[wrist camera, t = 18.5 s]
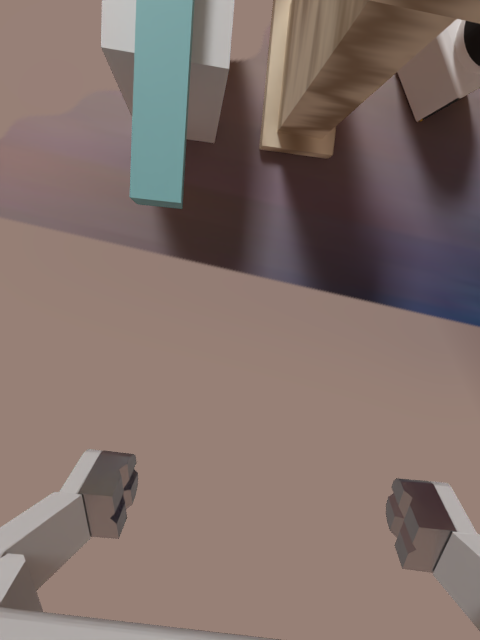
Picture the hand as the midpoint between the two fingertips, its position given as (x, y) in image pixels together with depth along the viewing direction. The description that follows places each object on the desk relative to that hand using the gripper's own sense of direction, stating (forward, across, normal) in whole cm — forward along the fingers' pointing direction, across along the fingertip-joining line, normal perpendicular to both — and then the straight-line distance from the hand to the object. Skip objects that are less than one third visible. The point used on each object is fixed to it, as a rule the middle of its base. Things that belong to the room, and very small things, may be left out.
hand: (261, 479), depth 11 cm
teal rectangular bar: (+20, +7, -17) cm, 27 cm away
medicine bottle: (+42, -17, -18) cm, 49 cm away
